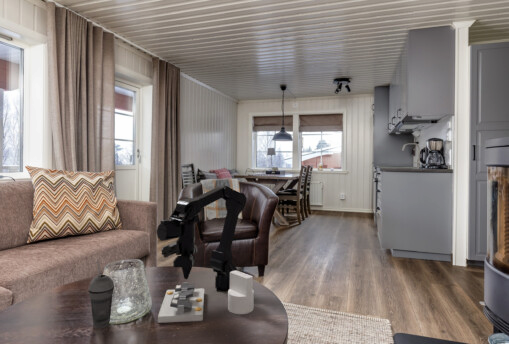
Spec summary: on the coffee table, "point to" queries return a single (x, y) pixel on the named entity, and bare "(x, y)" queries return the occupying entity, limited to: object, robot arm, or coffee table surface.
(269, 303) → the coffee table surface
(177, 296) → the switch
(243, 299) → the cylinder with rectangular tab
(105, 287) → the beverage cup
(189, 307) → the switch
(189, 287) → the switch
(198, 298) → the switch panel
